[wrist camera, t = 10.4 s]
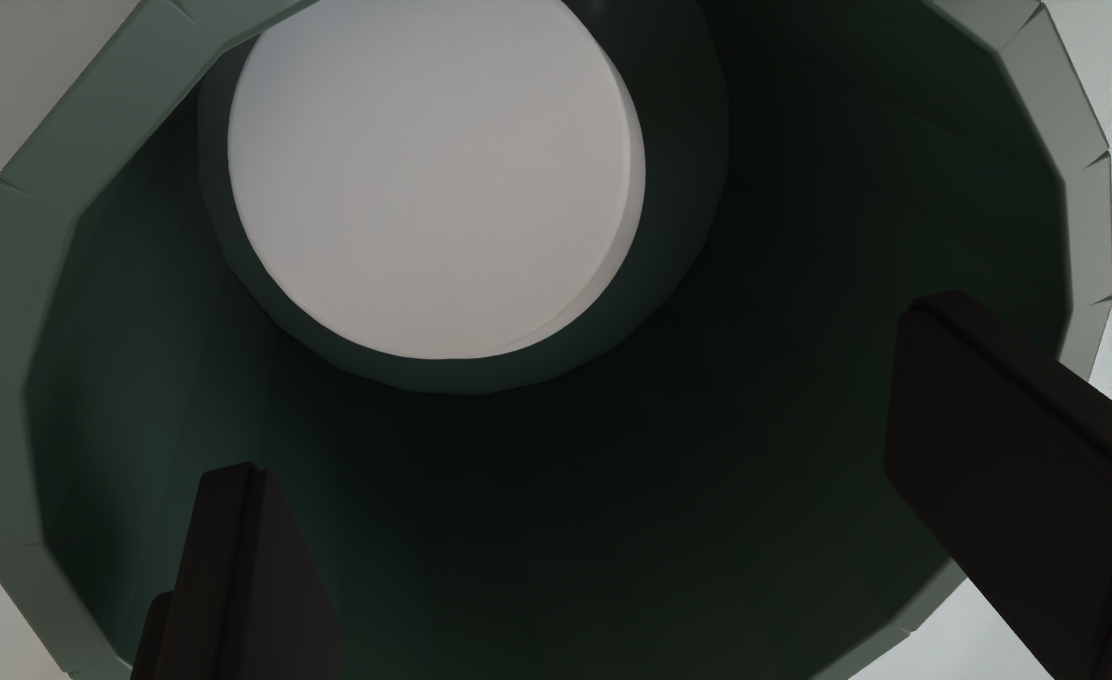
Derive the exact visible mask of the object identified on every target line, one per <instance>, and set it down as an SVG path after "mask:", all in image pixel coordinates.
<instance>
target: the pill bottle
mask: <svg viewBox="0 0 1112 680" xmlns="http://www.w3.org/2000/svg"><path fill="white" fill-rule="evenodd" d="M228 161H229V164H228V168H229V174H230V179H231V185H232V191H233V196H234V200H235V203H236V207H237V210H238V213H239V217H240V220H241V222H242V225H243V227H244V229H245V232H246V235H247V237H248V239H249V241H250V243H251V245H252V247H253V249H254V251H255V252H256V254H257V256H258V257H259V259H260V260H261V262H262V264H263V265H264V267H265V269H266V270H267V272H268V273H269V274H270V276H271V277H272V278H273V279H274V280H275V282H276V283H277V284H278V285H279V286H280V288H281V289H282V290H283V291H284V292H285V293H286V294H287V296H288V297H289V298H290V299H291V300H292V301H293V302H294V303H296V304H297V305H298V306H299V307H300V308H301V309H302V310H304V311H305V312H306V313H307V314H309V315H310V316H311V317H312V318H313V319H315V320H316V321H317V322H319V323H320V324H322V325H323V326H325V327H327V328H328V329H330V330H332V331H333V332H335V333H337V334H338V335H340V336H342V337H344V338H346V339H348V340H350V341H352V342H354V343H357V344H360V345H362V346H365V347H368V348H371V349H374V350H377V351H380V352H384V353H387V354H392V355H397V356H402V357H410V358H420V359H470V358H483V357H488V356H494V355H500V354H504V353H508V352H512V351H516V350H519V349H522V348H524V347H527V346H530V345H532V344H534V343H537V342H539V341H541V340H543V339H545V338H547V337H549V336H551V335H553V334H554V333H556V332H557V331H559V330H560V329H562V328H563V327H565V326H566V325H568V324H569V323H571V322H572V321H573V320H574V319H576V318H577V317H578V316H579V315H580V314H582V313H583V312H584V311H585V310H586V309H587V308H588V307H589V306H590V305H591V304H592V303H593V302H594V301H595V300H596V299H597V298H598V297H599V296H600V294H601V293H602V292H603V291H604V290H605V288H606V287H607V286H608V285H609V283H610V282H611V280H612V279H613V277H614V276H615V274H616V273H617V271H618V269H619V268H620V266H621V264H622V262H623V261H624V259H625V257H626V255H627V253H628V250H629V248H630V246H631V244H632V241H633V239H634V236H635V233H636V230H637V227H638V224H639V220H640V216H641V211H642V205H643V200H644V191H645V171H646V170H645V150H644V144H643V138H642V132H641V128H640V124H639V120H638V116H637V113H636V109H635V106H634V103H633V101H632V98H631V96H630V94H629V91H628V89H627V87H626V85H625V83H624V81H623V79H622V77H621V75H620V73H619V72H618V70H617V69H616V67H615V65H614V64H613V62H612V61H611V59H610V58H609V56H608V55H607V54H606V52H605V51H604V50H603V48H602V47H601V46H600V45H599V44H598V42H597V41H596V40H595V39H594V38H593V37H592V35H591V34H590V32H589V31H588V30H587V28H586V27H585V26H584V25H583V24H582V22H581V21H580V20H579V19H578V18H577V17H576V16H575V14H574V13H573V12H572V11H571V10H570V9H569V8H568V7H567V6H566V5H565V4H564V3H563V2H562V1H561V0H321V1H319V2H317V3H315V4H313V5H311V6H309V7H308V8H306V9H304V10H302V11H300V12H298V13H296V14H295V15H293V16H291V17H289V18H287V19H285V20H283V21H282V22H280V23H278V24H276V25H274V26H272V27H270V28H269V29H267V30H265V31H263V32H261V34H260V36H259V37H258V39H257V41H256V42H255V44H254V46H253V47H252V49H251V51H250V53H249V54H248V56H247V58H246V61H245V64H244V66H243V69H242V71H241V74H240V76H239V79H238V82H237V84H236V88H235V92H234V97H233V101H232V105H231V109H230V116H229V126H228Z"/></svg>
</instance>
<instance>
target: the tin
mask: <svg viewBox="0 0 1112 680" xmlns="http://www.w3.org/2000/svg"><path fill="white" fill-rule="evenodd" d="M319 1H321V0H141V1H140V3H139V4H138V5H137V6H136V7H135V9H134V10H133V11H132V12H131V13H130V15H129V16H128V17H127V18H126V20H125V21H124V22H123V23H122V24H121V26H120V27H119V28H118V29H117V31H116V32H115V33H114V34H113V35H112V37H111V38H110V39H109V40H108V41H107V43H106V44H105V45H104V46H103V48H102V49H101V50H100V51H99V52H98V54H97V55H96V56H95V57H94V58H93V60H92V61H91V62H90V63H89V65H88V66H87V67H86V68H85V69H84V71H83V72H82V73H81V74H80V76H79V77H78V78H77V79H76V80H75V82H74V83H73V84H72V85H71V86H70V88H69V89H68V90H67V91H66V93H65V94H64V95H63V96H62V97H61V99H60V100H59V101H58V102H57V104H56V105H55V106H54V107H53V108H52V110H51V111H50V112H49V113H48V114H47V116H46V117H45V118H44V119H43V121H42V122H41V123H40V124H39V125H38V127H37V128H36V129H35V130H34V132H33V133H32V134H31V135H30V136H29V138H28V139H27V140H26V141H25V142H24V144H23V145H22V146H21V147H20V149H19V150H18V151H17V152H16V153H15V155H14V156H13V157H12V158H11V160H10V161H9V162H8V163H7V164H6V166H5V167H4V168H3V169H2V170H1V173H0V584H1V585H2V587H3V588H4V590H5V591H6V592H7V594H8V595H9V597H10V598H11V599H12V601H13V602H14V604H15V605H16V606H17V608H18V609H19V611H20V612H21V614H22V615H23V616H24V618H25V619H26V621H27V622H28V623H29V625H30V626H31V628H32V629H33V631H34V632H35V633H36V635H37V636H38V638H39V639H40V640H41V642H42V643H43V645H44V646H45V647H46V649H47V650H48V652H49V653H50V655H51V656H52V657H53V659H54V660H55V662H56V663H57V664H58V666H59V667H60V669H61V670H62V671H63V672H67V673H68V675H69V677H70V678H71V679H73V680H130V677H131V673H132V669H133V665H134V661H135V658H136V654H137V650H138V646H139V642H140V639H141V635H142V631H143V627H144V624H145V620H146V616H147V612H148V610H149V607H150V605H151V602H152V600H153V599H154V598H155V597H156V596H157V595H158V594H161V593H164V592H168V591H172V590H174V587H175V583H176V579H177V575H178V571H179V566H180V562H181V558H182V554H183V549H184V545H185V541H186V537H187V533H188V528H189V524H190V520H191V516H192V511H193V507H194V503H195V499H196V495H197V490H198V486H199V482H200V479H201V476H202V474H203V473H204V472H206V471H210V470H214V469H218V468H222V467H226V466H231V465H235V464H239V463H243V462H247V461H251V462H253V463H254V464H255V465H256V466H257V468H258V470H263V469H267V468H270V469H272V470H273V471H274V473H275V475H276V477H277V479H278V481H279V483H280V486H281V488H282V490H283V492H284V495H285V497H286V499H287V501H288V504H289V506H290V508H291V510H292V513H293V515H294V517H295V519H296V522H297V524H298V526H299V528H300V531H301V533H302V535H303V537H304V540H305V542H306V544H307V546H308V549H309V551H310V553H311V555H312V558H313V560H314V562H315V564H316V567H317V569H318V571H319V573H320V576H321V578H322V580H323V582H324V585H325V587H326V589H327V591H328V594H329V596H330V598H331V600H332V603H333V605H334V608H335V611H336V614H337V619H338V625H339V680H848V679H849V678H850V677H852V676H853V675H855V674H856V673H857V672H859V671H860V670H862V669H863V668H865V667H866V666H867V665H869V664H870V663H872V662H873V661H874V660H876V659H877V658H879V657H880V656H882V655H883V654H884V653H886V652H887V651H889V650H890V649H891V648H893V647H894V646H896V645H897V644H899V643H900V642H901V641H903V640H904V639H906V638H907V637H908V636H909V635H910V634H911V633H910V632H913V631H915V630H917V629H918V628H919V627H920V625H921V624H922V623H923V622H924V621H925V620H926V619H927V618H928V617H929V616H930V615H931V614H932V613H933V612H934V611H935V610H936V609H937V608H938V607H939V606H940V605H941V604H942V603H943V602H944V601H945V600H946V599H947V598H948V597H949V596H950V595H951V594H952V593H953V592H954V590H955V589H956V588H957V587H958V586H959V585H960V584H961V583H962V582H963V581H964V580H965V579H966V578H967V577H968V576H967V575H966V574H965V573H964V572H963V570H962V569H961V568H960V567H959V566H958V565H957V563H956V562H955V561H954V560H953V559H952V557H951V556H950V555H949V554H948V553H947V551H946V550H945V549H944V548H943V547H942V545H941V544H940V543H939V542H938V541H937V539H936V538H935V537H934V536H933V535H932V533H931V532H930V531H929V530H928V529H927V528H926V526H925V525H924V524H923V523H922V522H921V520H920V519H919V518H918V517H917V516H916V514H915V513H914V512H913V511H912V510H911V508H910V507H909V506H908V505H907V504H906V502H905V501H904V500H903V499H902V498H901V497H900V495H899V494H898V493H897V492H896V491H895V489H894V488H893V487H892V485H891V484H890V483H889V481H888V479H887V477H886V474H885V471H884V465H883V456H884V447H885V437H886V428H887V419H888V410H889V401H890V391H891V382H892V373H893V364H894V354H895V345H896V336H897V327H898V320H899V317H900V316H901V314H902V313H904V312H906V311H907V310H908V306H909V305H910V303H911V301H912V300H914V299H916V298H919V297H923V296H927V295H931V294H935V293H939V292H943V291H947V290H952V289H959V290H961V291H963V292H965V293H966V294H968V295H969V296H971V297H972V298H973V299H975V300H976V301H977V302H979V303H980V304H981V305H983V306H984V307H986V308H987V309H988V310H990V311H991V312H992V313H994V314H995V315H996V316H998V317H999V318H1001V319H1002V320H1003V321H1005V322H1006V323H1007V324H1009V325H1010V326H1011V327H1013V328H1014V329H1015V330H1017V331H1018V332H1020V333H1021V334H1022V335H1024V336H1025V337H1026V338H1028V339H1029V340H1030V341H1032V342H1033V343H1035V344H1036V345H1037V346H1039V347H1040V348H1041V349H1043V350H1044V351H1045V352H1047V353H1048V354H1049V355H1051V356H1052V357H1054V358H1055V359H1056V360H1058V361H1059V362H1060V363H1062V364H1063V365H1064V366H1066V367H1067V368H1069V369H1070V370H1071V371H1073V372H1074V373H1075V374H1077V375H1078V376H1079V377H1081V378H1082V379H1083V380H1085V381H1086V382H1088V381H1089V378H1090V375H1091V371H1092V368H1093V365H1094V362H1095V358H1096V355H1097V352H1098V349H1099V345H1100V342H1101V339H1102V336H1103V332H1104V329H1105V326H1106V323H1107V319H1108V316H1109V313H1110V310H1111V307H1112V185H1111V155H1110V153H1109V151H1108V149H1109V143H1108V141H1107V139H1106V137H1105V135H1104V132H1103V130H1102V128H1101V126H1100V123H1099V121H1098V119H1097V117H1096V115H1095V112H1094V110H1093V108H1092V106H1091V104H1090V101H1089V99H1088V97H1087V95H1086V93H1085V90H1084V88H1083V86H1082V84H1081V81H1080V79H1079V77H1078V75H1077V73H1076V70H1075V68H1074V66H1073V64H1072V62H1071V59H1070V57H1069V55H1068V53H1067V51H1066V48H1065V46H1064V44H1063V42H1062V39H1061V37H1060V35H1059V33H1058V31H1057V28H1056V26H1055V24H1054V22H1053V20H1052V17H1051V15H1050V13H1049V11H1048V9H1047V6H1046V5H1045V4H1044V3H1042V2H1041V0H561V1H562V2H563V3H564V4H565V5H566V6H567V7H568V8H569V9H570V10H571V11H572V12H573V13H574V14H575V16H576V17H577V18H578V19H579V20H580V21H581V22H582V24H583V25H584V26H585V27H586V28H587V30H588V31H589V32H590V34H591V35H592V37H593V38H594V39H595V40H596V41H597V42H598V44H599V45H600V46H601V47H602V48H603V50H604V51H605V52H606V54H607V55H608V56H609V58H610V59H611V61H612V62H613V64H614V65H615V67H616V69H617V70H618V72H619V73H620V75H621V77H622V79H623V81H624V83H625V85H626V87H627V89H628V91H629V94H630V96H631V98H632V101H633V103H634V106H635V109H636V113H637V116H638V120H639V124H640V128H641V132H642V138H643V144H644V150H645V170H646V171H645V191H644V200H643V205H642V211H641V216H640V220H639V224H638V227H637V230H636V233H635V236H634V239H633V241H632V244H631V246H630V248H629V250H628V253H627V255H626V257H625V259H624V261H623V262H622V264H621V266H620V268H619V269H618V271H617V273H616V274H615V276H614V277H613V279H612V280H611V282H610V283H609V285H608V286H607V287H606V288H605V290H604V291H603V292H602V293H601V294H600V296H599V297H598V298H597V299H596V300H595V301H594V302H593V303H592V304H591V305H590V306H589V307H588V308H587V309H586V310H585V311H584V312H583V313H582V314H580V315H579V316H578V317H577V318H576V319H574V320H573V321H572V322H571V323H569V324H568V325H566V326H565V327H563V328H562V329H560V330H559V331H557V332H556V333H554V334H553V335H551V336H549V337H547V338H545V339H543V340H541V341H539V342H537V343H534V344H532V345H530V346H527V347H524V348H522V349H519V350H516V351H512V352H508V353H504V354H500V355H494V356H488V357H483V358H470V359H420V358H410V357H402V356H397V355H392V354H387V353H384V352H380V351H377V350H374V349H371V348H368V347H365V346H362V345H360V344H357V343H354V342H352V341H350V340H348V339H346V338H344V337H342V336H340V335H338V334H337V333H335V332H333V331H332V330H330V329H328V328H327V327H325V326H323V325H322V324H320V323H319V322H317V321H316V320H315V319H313V318H312V317H311V316H310V315H309V314H307V313H306V312H305V311H304V310H302V309H301V308H300V307H299V306H298V305H297V304H296V303H294V302H293V301H292V300H291V299H290V298H289V297H288V296H287V294H286V293H285V292H284V291H283V290H282V289H281V288H280V286H279V285H278V284H277V283H276V282H275V280H274V279H273V278H272V277H271V276H270V274H269V273H268V272H267V270H266V269H265V267H264V265H263V264H262V262H261V260H260V259H259V257H258V256H257V254H256V252H255V251H254V249H253V247H252V245H251V243H250V241H249V239H248V237H247V235H246V232H245V229H244V227H243V225H242V222H241V220H240V217H239V213H238V210H237V207H236V203H235V200H234V196H233V191H232V185H231V179H230V174H229V168H228V164H229V161H228V126H229V116H230V109H231V105H232V101H233V97H234V92H235V88H236V84H237V82H238V79H239V76H240V74H241V71H242V69H243V66H244V64H245V61H246V58H247V56H248V54H249V53H250V51H251V49H252V47H253V46H254V44H255V42H256V41H257V39H258V37H259V36H260V34H261V32H263V31H265V30H267V29H269V28H270V27H272V26H274V25H276V24H278V23H280V22H282V21H283V20H285V19H287V18H289V17H291V16H293V15H295V14H296V13H298V12H300V11H302V10H304V9H306V8H308V7H309V6H311V5H313V4H315V3H317V2H319Z"/></svg>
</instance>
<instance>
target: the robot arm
mask: <svg viewBox="0 0 1112 680" xmlns="http://www.w3.org/2000/svg"><path fill="white" fill-rule="evenodd" d="M883 465H884V471H885V474H886V477H887V479H888V481H889V483H890V484H891V485H892V487H893V488H894V489H895V491H896V492H897V493H898V494H899V495H900V497H901V498H902V499H903V500H904V501H905V502H906V504H907V505H908V506H909V507H910V508H911V510H912V511H913V512H914V513H915V514H916V516H917V517H918V518H919V519H920V520H921V522H922V523H923V524H924V525H925V526H926V528H927V529H928V530H929V531H930V532H931V533H932V535H933V536H934V537H935V538H936V539H937V541H938V542H939V543H940V544H941V545H942V547H943V548H944V549H945V550H946V551H947V553H948V554H949V555H950V556H951V557H952V559H953V560H954V561H955V562H956V563H957V565H958V566H959V567H960V568H961V569H962V570H963V572H964V573H965V574H966V575H967V576H968V578H969V579H970V580H971V581H972V582H973V584H974V585H975V586H976V587H977V588H978V590H979V591H980V592H981V593H982V594H983V596H984V597H985V598H986V599H987V600H988V602H989V603H990V604H991V605H992V606H993V607H994V609H995V610H996V611H997V612H998V613H999V615H1000V616H1001V617H1002V618H1003V619H1004V621H1005V622H1006V623H1007V624H1008V625H1009V627H1010V628H1011V629H1012V630H1013V631H1014V633H1015V634H1016V635H1017V636H1018V637H1019V638H1020V640H1021V641H1022V642H1023V643H1024V644H1025V646H1026V647H1027V648H1028V649H1029V650H1030V652H1031V653H1032V654H1033V655H1034V656H1035V658H1036V659H1037V660H1038V661H1039V662H1040V664H1041V665H1042V666H1043V667H1044V668H1045V670H1046V671H1047V672H1048V673H1049V674H1050V675H1051V676H1052V677H1053V678H1054V679H1055V680H1112V400H1111V399H1109V398H1108V397H1107V396H1105V395H1104V394H1103V393H1101V392H1100V391H1098V390H1097V389H1096V388H1094V387H1093V386H1092V385H1090V384H1089V383H1088V382H1086V381H1085V380H1083V379H1082V378H1081V377H1079V376H1078V375H1077V374H1075V373H1074V372H1073V371H1071V370H1070V369H1069V368H1067V367H1066V366H1064V365H1063V364H1062V363H1060V362H1059V361H1058V360H1056V359H1055V358H1054V357H1052V356H1051V355H1049V354H1048V353H1047V352H1045V351H1044V350H1043V349H1041V348H1040V347H1039V346H1037V345H1036V344H1035V343H1033V342H1032V341H1030V340H1029V339H1028V338H1026V337H1025V336H1024V335H1022V334H1021V333H1020V332H1018V331H1017V330H1015V329H1014V328H1013V327H1011V326H1010V325H1009V324H1007V323H1006V322H1005V321H1003V320H1002V319H1001V318H999V317H998V316H996V315H995V314H994V313H992V312H991V311H990V310H988V309H987V308H986V307H984V306H983V305H981V304H980V303H979V302H977V301H976V300H975V299H973V298H972V297H971V296H969V295H968V294H966V293H965V292H963V291H961V290H959V289H952V290H947V291H943V292H939V293H935V294H931V295H927V296H923V297H919V298H916V299H914V300H912V301H911V303H910V305H909V306H908V310H907V311H906V312H904V313H902V314H901V316H900V317H899V320H898V327H897V336H896V345H895V354H894V364H893V373H892V382H891V391H890V401H889V410H888V419H887V428H886V437H885V447H884V456H883ZM130 680H339V625H338V619H337V614H336V611H335V608H334V605H333V603H332V600H331V598H330V596H329V594H328V591H327V589H326V587H325V585H324V582H323V580H322V578H321V576H320V573H319V571H318V569H317V567H316V564H315V562H314V560H313V558H312V555H311V553H310V551H309V549H308V546H307V544H306V542H305V540H304V537H303V535H302V533H301V531H300V528H299V526H298V524H297V522H296V519H295V517H294V515H293V513H292V510H291V508H290V506H289V504H288V501H287V499H286V497H285V495H284V492H283V490H282V488H281V486H280V483H279V481H278V479H277V477H276V475H275V473H274V471H273V470H272V469H270V468H267V469H263V470H258V468H257V466H256V465H255V464H254V463H253V462H251V461H247V462H243V463H239V464H235V465H231V466H226V467H222V468H218V469H214V470H210V471H206V472H204V473H203V474H202V476H201V479H200V482H199V486H198V490H197V495H196V499H195V503H194V507H193V511H192V516H191V520H190V524H189V528H188V533H187V537H186V541H185V545H184V549H183V554H182V558H181V562H180V566H179V571H178V575H177V579H176V583H175V587H174V590H172V591H168V592H164V593H161V594H158V595H157V596H156V597H155V598H154V599H153V600H152V602H151V605H150V607H149V610H148V612H147V616H146V620H145V624H144V627H143V631H142V635H141V639H140V642H139V646H138V650H137V654H136V658H135V661H134V665H133V669H132V673H131V677H130Z"/></svg>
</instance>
